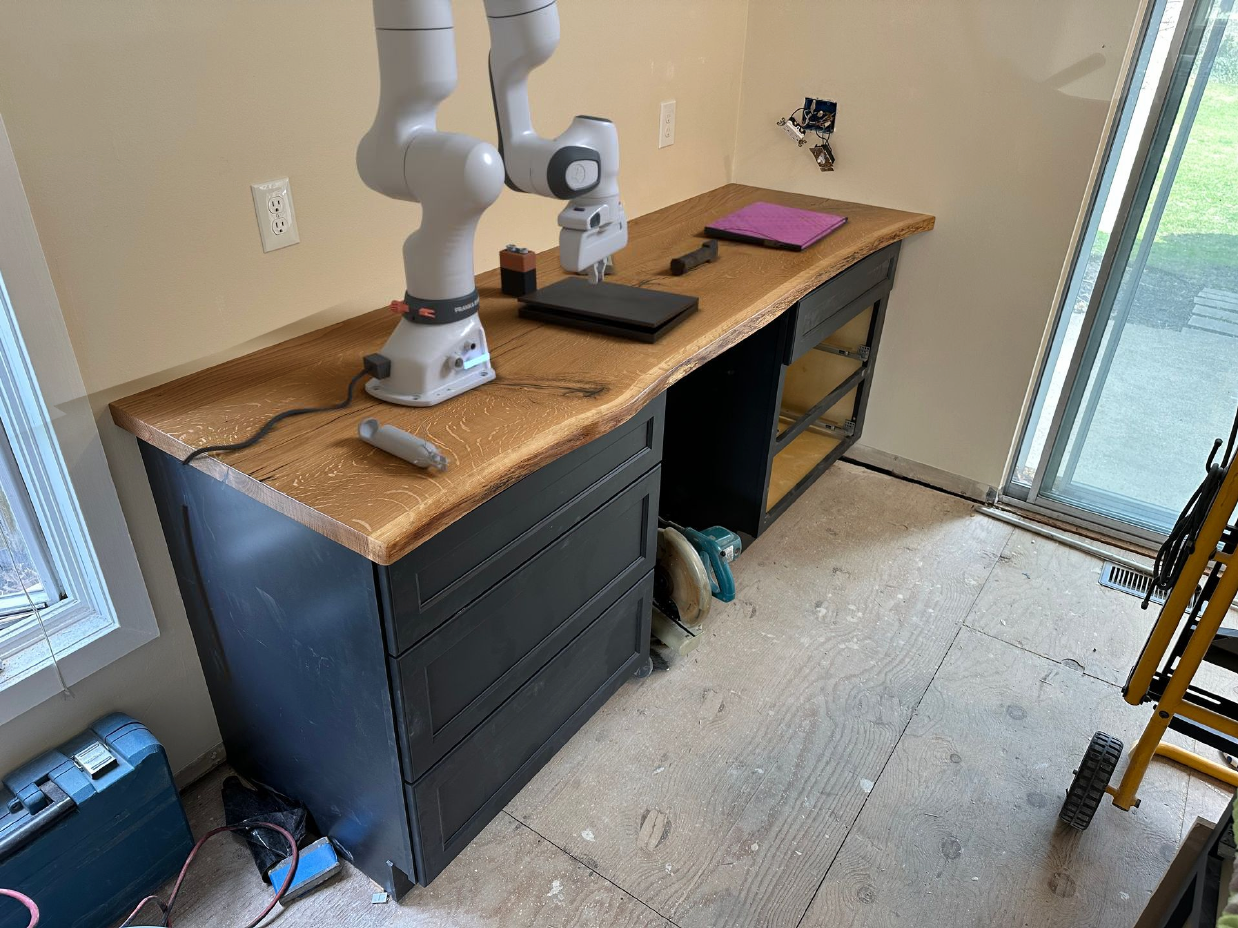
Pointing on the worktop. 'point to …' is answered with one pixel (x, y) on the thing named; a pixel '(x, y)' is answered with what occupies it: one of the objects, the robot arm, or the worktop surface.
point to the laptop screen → (610, 301)
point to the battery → (517, 270)
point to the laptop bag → (775, 226)
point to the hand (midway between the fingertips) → (596, 282)
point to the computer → (607, 268)
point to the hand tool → (695, 258)
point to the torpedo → (401, 444)
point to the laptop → (605, 322)
